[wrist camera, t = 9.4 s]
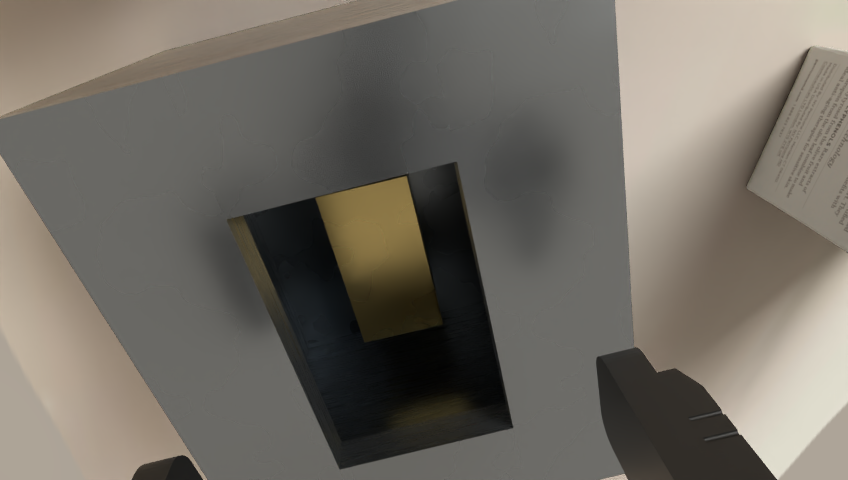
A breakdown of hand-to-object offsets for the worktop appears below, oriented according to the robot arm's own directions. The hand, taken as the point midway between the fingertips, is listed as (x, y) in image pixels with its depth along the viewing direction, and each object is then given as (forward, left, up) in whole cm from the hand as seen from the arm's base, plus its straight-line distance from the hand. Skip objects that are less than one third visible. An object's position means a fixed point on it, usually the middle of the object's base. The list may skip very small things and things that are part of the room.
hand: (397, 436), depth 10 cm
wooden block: (0, +1, -12) cm, 12 cm away
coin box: (0, 0, -13) cm, 13 cm away
